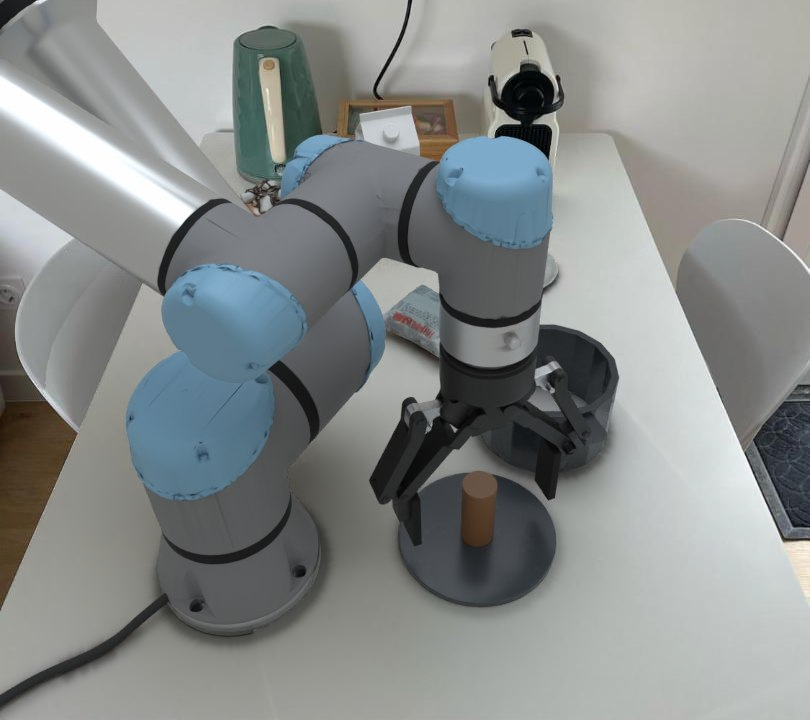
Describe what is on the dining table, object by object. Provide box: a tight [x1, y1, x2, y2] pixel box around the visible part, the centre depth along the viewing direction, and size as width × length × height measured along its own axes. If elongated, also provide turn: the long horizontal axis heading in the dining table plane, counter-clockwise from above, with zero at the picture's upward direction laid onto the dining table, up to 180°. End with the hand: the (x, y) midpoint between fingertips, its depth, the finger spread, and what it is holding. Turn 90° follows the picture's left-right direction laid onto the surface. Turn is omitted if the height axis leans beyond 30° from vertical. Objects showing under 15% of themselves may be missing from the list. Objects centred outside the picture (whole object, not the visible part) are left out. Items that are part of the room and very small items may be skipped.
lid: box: [398, 470, 557, 607], centre depth 76 cm, size 15×15×9 cm
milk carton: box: [354, 105, 421, 156], centre depth 113 cm, size 7×7×19 cm
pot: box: [480, 323, 620, 473], centre depth 87 cm, size 14×19×9 cm
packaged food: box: [382, 284, 440, 358], centre depth 100 cm, size 9×12×5 cm
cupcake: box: [239, 178, 281, 217], centre depth 113 cm, size 10×10×10 cm
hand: (480, 511), depth 76 cm, fingers open, 13 cm apart
